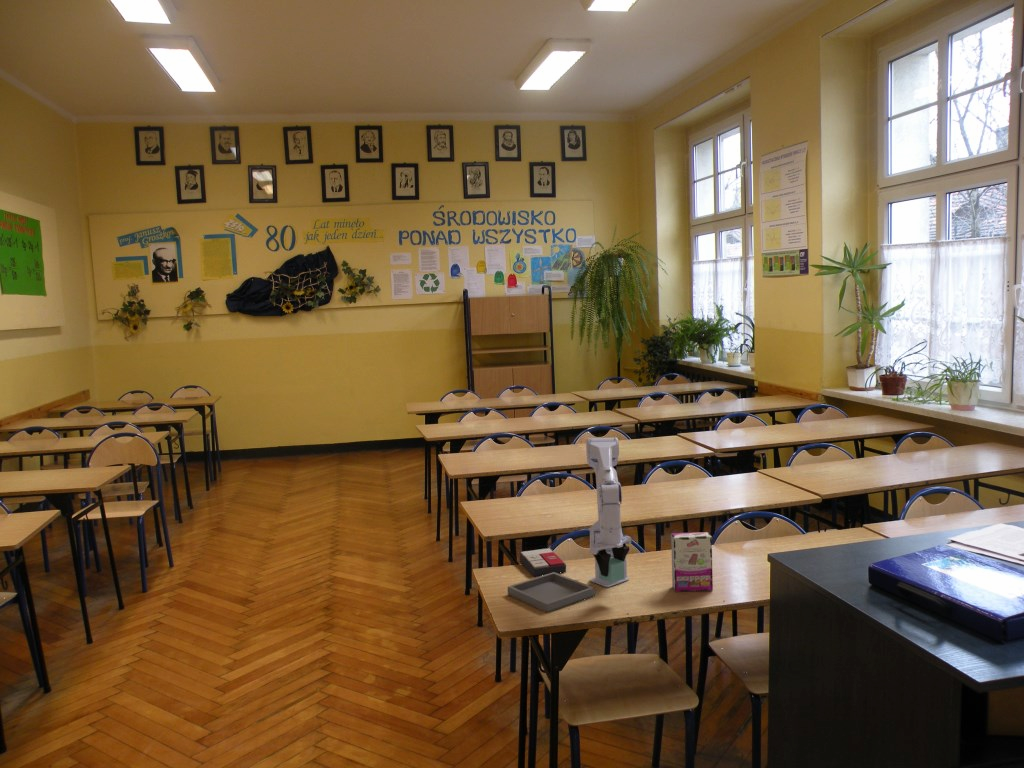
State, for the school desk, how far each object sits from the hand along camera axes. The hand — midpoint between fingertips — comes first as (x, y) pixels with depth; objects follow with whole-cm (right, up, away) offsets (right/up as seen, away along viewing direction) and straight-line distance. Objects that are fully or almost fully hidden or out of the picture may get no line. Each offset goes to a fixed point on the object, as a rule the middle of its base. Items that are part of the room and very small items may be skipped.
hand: (611, 573), depth 217 cm
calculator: (-18, -6, +31) cm, 37 cm away
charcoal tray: (-17, -8, +7) cm, 20 cm away
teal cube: (0, -2, 0) cm, 2 cm away
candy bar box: (+25, -7, +8) cm, 27 cm away
